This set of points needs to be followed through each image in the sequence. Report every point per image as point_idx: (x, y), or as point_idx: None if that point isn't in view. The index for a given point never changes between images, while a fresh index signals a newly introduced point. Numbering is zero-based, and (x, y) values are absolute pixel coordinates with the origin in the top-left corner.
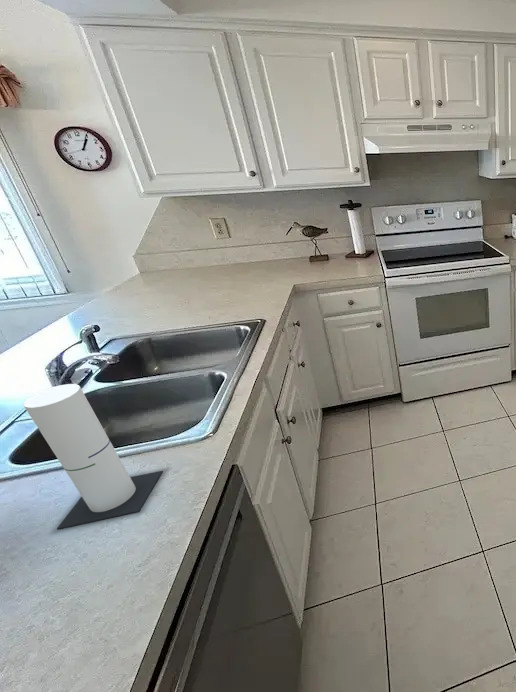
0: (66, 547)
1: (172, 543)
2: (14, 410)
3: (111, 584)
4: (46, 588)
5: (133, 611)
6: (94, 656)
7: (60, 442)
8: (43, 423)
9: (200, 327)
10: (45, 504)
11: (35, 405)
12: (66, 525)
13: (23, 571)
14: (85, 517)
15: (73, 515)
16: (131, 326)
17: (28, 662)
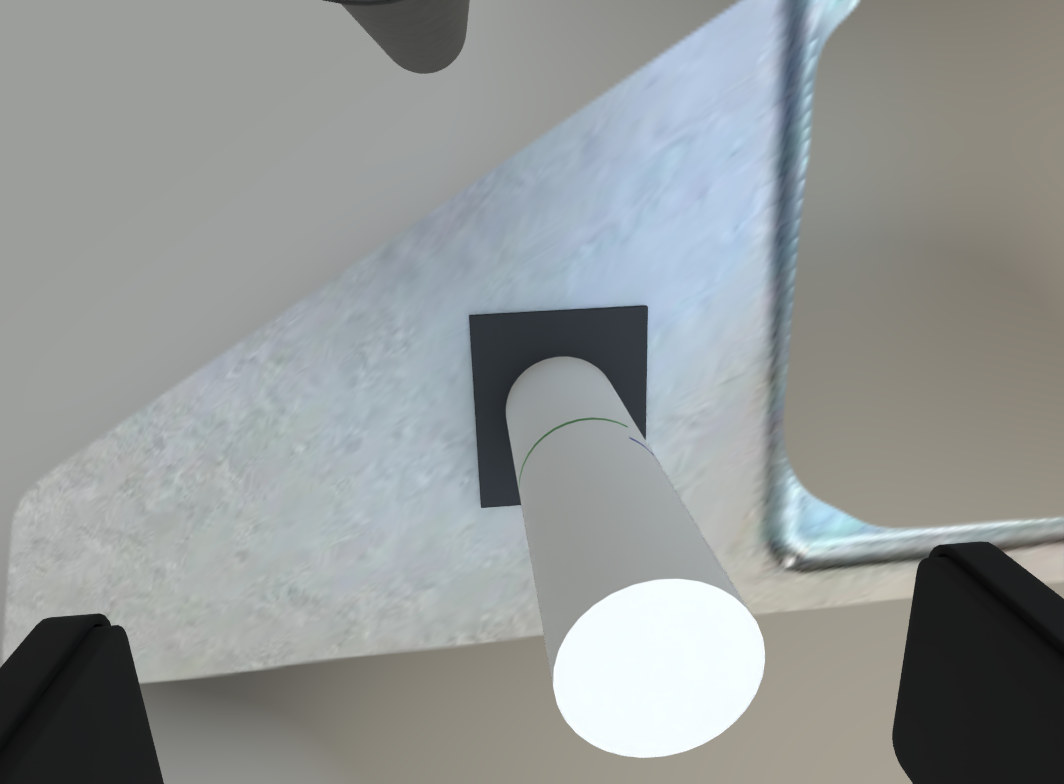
0: (392, 381)
1: (345, 633)
2: None
3: (247, 555)
4: (262, 411)
5: (168, 634)
6: (74, 611)
7: (531, 556)
8: (543, 602)
9: None
10: (598, 204)
11: (572, 661)
12: (475, 337)
13: (330, 316)
14: (494, 374)
15: (513, 333)
16: None
17: (75, 492)
